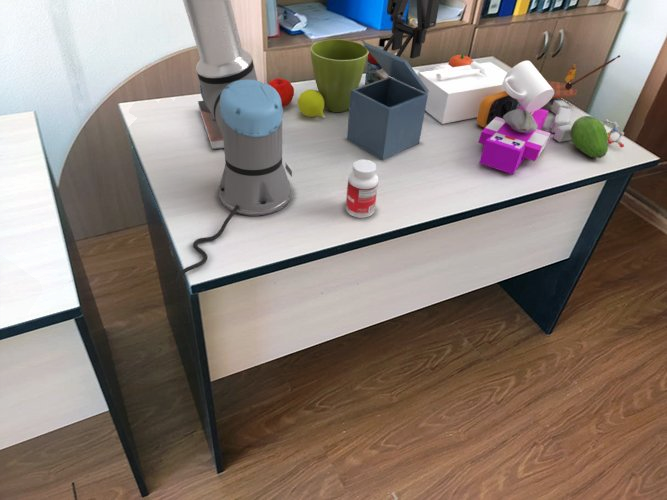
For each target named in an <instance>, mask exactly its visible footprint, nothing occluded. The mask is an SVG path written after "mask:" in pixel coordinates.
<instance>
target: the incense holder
mask: <svg viewBox="0 0 667 500" xmlns="http://www.w3.org/2000/svg"><path fill="white" fill-rule="evenodd" d="M618 58H621V55H620V54H619V55H617V56H616V57H613V58H612V59H610V60H608V61H607V62H605V63H603V64H602V65H600V66H598V67H597V68H595V69H593V70H591V71H590V72H588V73H587V74H584V75H583V76H582V77H580V78H578V79H577V80H575V81H573V80H574V79H575V77H576V72H577V68H576V67H577V66H576V65H577V64H576V63H573V64H572V65H571V69H569V71H568V73H567V75H566V76H565V83H563V82H558V81H554V80H546V79H545V80H546V81H547V83H548V84H549V85H550V86H551V87H552V89H553V90H554V95H553V97H552V98H551V99H565V98H571V97H574V96H576V95H577V93H578V89H577V88H575V87H574V85H576V84H578V83H579V82H580V81H582V80H583V79H586V78H587V77H588V76H590V75H592V74H594V73H595V72H597V71H599V70H600V69H602V68H604V67H606V66H608V65H609V64H610V63H613V62H614V61H616V59H618ZM572 81H573V82H572Z"/></svg>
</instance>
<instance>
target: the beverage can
mask: <svg viewBox="0 0 667 500" xmlns="http://www.w3.org/2000/svg"><path fill="white" fill-rule="evenodd" d="M374 46H375V45H374ZM375 47H377V48H380V49H382V50H383V49H384V47H385V46H380V45H377V46H375ZM387 52H389V53H391V51H390V48H389V49H388V50H387ZM365 67H366V68H365V76H364V77H365V79H364V85H367V84H370V83H373V82H376V81H378V80H381V78H380V77H379V76H378V75H377V74H376V73H375V71H378V70H380V69H382V67H381V66H380V65H379V63H378V62H377V61H376V60H375V59H374V57H373V56H372V55H371V54H370V52H369V51H368V54H367V58H366V66H365ZM388 77H390V76H389V75H388Z"/></svg>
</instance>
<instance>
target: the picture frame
mask: <svg viewBox="0 0 667 500" xmlns="http://www.w3.org/2000/svg"><path fill="white" fill-rule="evenodd" d="M197 104H198V111H199V113H200V116H201V119H202V122H203V125H204V129H205V131H206V134H207V138H208V140H209V143H210V146H211V149H213V150H217V149H224V142H223V135H222V132H221V130H220V128H219V126H218V124H217V123H216V121H215V119H214V117H213V116H212V114H211V112H210V110H209V109H208V108H207V106H206V105H205V103H204V101H203V100H197Z"/></svg>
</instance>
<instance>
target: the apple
mask: <svg viewBox="0 0 667 500" xmlns="http://www.w3.org/2000/svg"><path fill="white" fill-rule="evenodd" d="M267 84H268V85H270V86H272V87H273V88H274V89H275V90H276V91H277V92H278V94H279V96H280V98H281V103H282V108H285V107H287V106H288V105H289V104H290V103H291V102H292V101H293V98H294V96H295V88H294V86H293V85H292V83H291V82H290V81H289V80H288V79H284V78H274V79H272V80H270V81H269V82H268V83H267Z"/></svg>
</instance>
